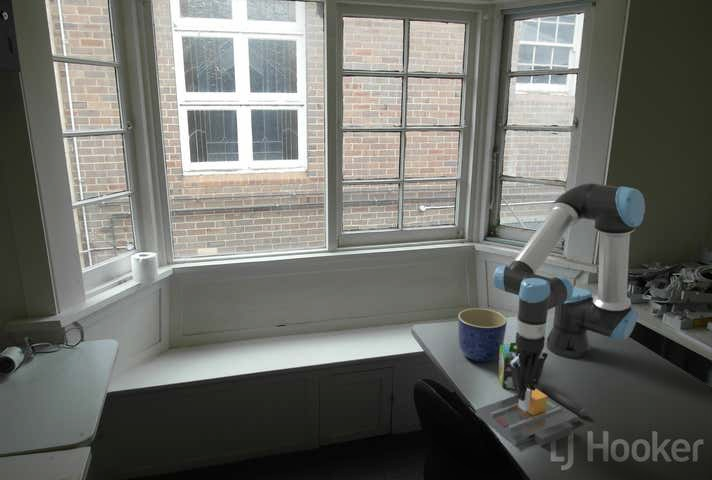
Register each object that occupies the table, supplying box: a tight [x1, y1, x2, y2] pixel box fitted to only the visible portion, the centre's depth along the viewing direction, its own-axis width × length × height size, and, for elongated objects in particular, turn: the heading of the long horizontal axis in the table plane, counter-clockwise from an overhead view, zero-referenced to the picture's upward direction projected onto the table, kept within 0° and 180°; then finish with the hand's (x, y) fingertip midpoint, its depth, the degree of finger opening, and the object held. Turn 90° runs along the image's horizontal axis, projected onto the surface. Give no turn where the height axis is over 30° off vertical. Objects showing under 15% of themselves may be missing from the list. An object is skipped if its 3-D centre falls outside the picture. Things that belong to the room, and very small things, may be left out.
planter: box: [457, 307, 508, 363], centre depth 174 cm, size 17×17×15 cm
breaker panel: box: [475, 394, 579, 447], centre depth 140 cm, size 16×24×2 cm, turn 117°
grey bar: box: [533, 421, 574, 447], centre depth 132 cm, size 2×12×2 cm, turn 117°
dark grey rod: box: [541, 385, 588, 418], centre depth 146 cm, size 15×2×2 cm, turn 27°
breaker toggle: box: [527, 388, 548, 416], centre depth 141 cm, size 4×5×5 cm
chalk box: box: [497, 342, 517, 390], centre depth 157 cm, size 9×9×15 cm
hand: (523, 408), depth 139 cm, fingers closed
